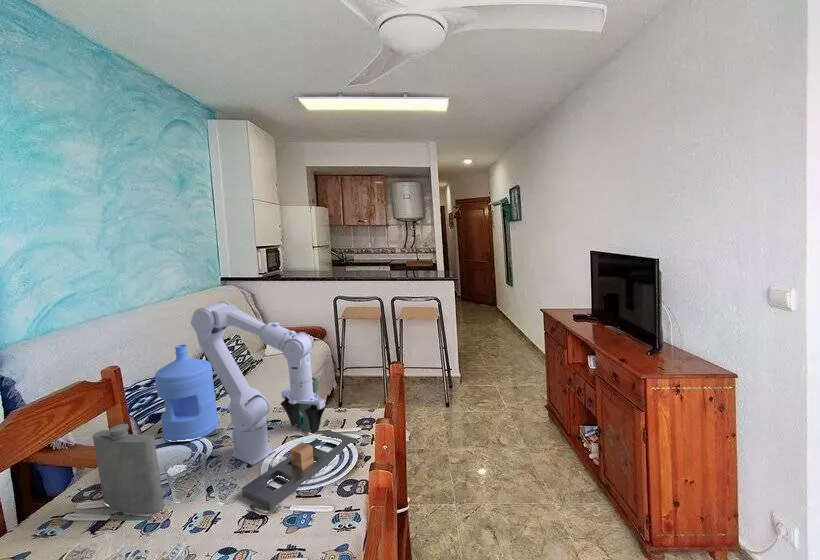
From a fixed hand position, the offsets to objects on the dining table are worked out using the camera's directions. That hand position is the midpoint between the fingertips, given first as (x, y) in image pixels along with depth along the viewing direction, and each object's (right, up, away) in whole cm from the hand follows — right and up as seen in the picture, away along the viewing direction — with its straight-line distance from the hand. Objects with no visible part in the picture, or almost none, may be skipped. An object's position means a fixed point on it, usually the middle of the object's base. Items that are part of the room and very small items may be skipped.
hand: (305, 427), depth 110 cm
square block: (0, -10, -3) cm, 10 cm away
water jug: (-41, -8, +20) cm, 46 cm away
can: (-3, -7, +19) cm, 21 cm away
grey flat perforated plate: (0, -10, -3) cm, 10 cm away
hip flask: (-37, -13, -15) cm, 42 cm away
